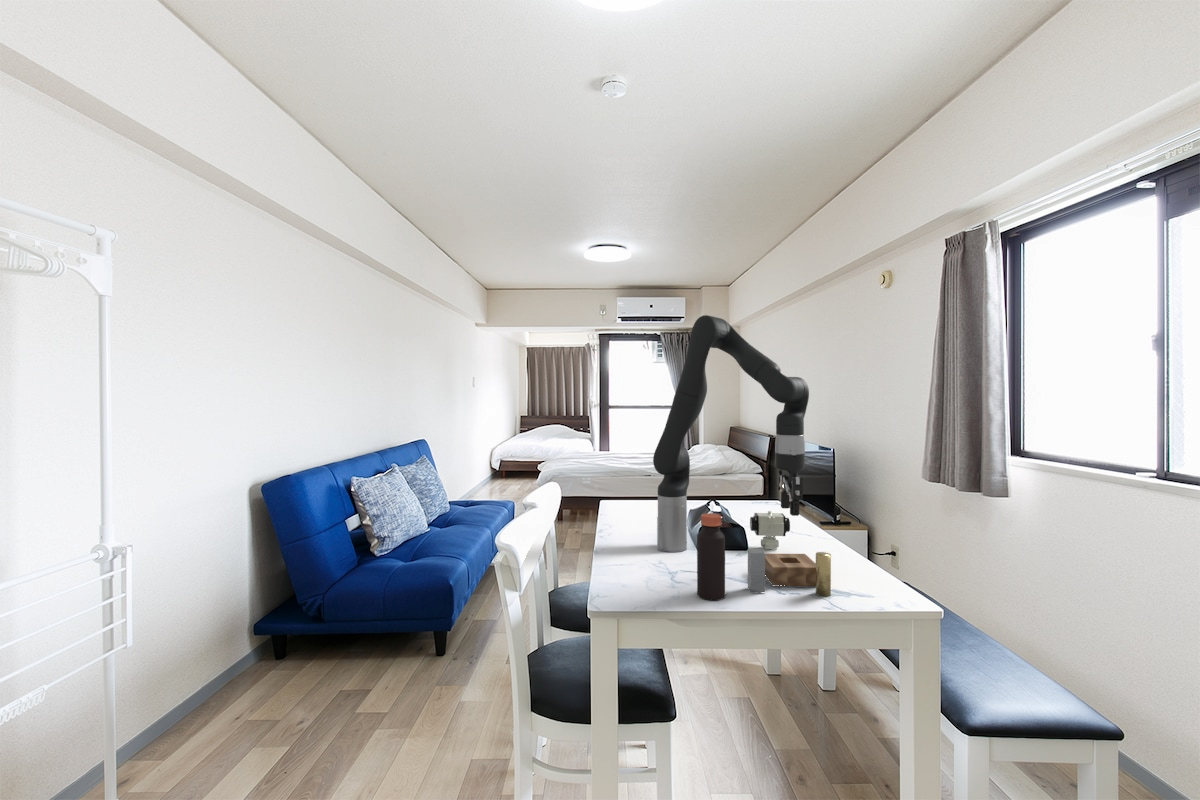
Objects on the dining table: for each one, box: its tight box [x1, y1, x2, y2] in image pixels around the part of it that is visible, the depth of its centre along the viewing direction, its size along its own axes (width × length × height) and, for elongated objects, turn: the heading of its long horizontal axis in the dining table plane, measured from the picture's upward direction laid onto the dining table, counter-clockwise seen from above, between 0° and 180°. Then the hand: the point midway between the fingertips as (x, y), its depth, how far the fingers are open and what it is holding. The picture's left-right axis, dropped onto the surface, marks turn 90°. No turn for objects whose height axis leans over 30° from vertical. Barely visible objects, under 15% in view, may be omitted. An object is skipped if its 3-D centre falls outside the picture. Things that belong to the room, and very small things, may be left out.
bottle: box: [696, 512, 726, 601], centre depth 138 cm, size 7×7×20 cm
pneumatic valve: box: [749, 510, 791, 550], centre depth 178 cm, size 6×12×12 cm, turn 83°
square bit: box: [747, 548, 766, 593], centre depth 142 cm, size 4×4×10 cm
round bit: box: [815, 551, 832, 598], centre depth 139 cm, size 4×4×10 cm
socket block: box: [765, 553, 816, 587], centre depth 150 cm, size 12×12×5 cm
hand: (789, 511), depth 150 cm, fingers open, 8 cm apart
